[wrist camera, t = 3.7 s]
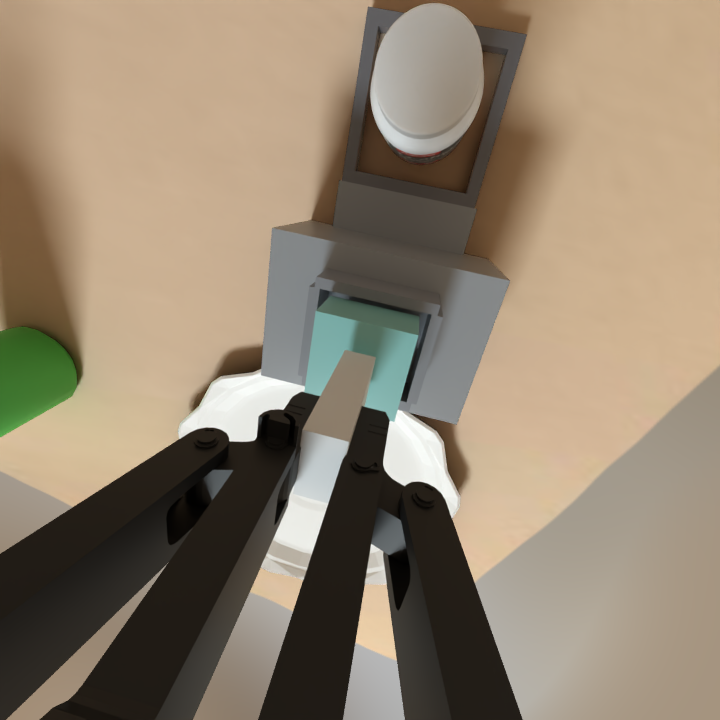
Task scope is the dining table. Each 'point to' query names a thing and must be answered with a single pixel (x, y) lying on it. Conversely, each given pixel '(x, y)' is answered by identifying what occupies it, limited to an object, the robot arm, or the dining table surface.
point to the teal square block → (363, 348)
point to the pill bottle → (427, 82)
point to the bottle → (32, 376)
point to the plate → (303, 515)
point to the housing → (395, 256)
